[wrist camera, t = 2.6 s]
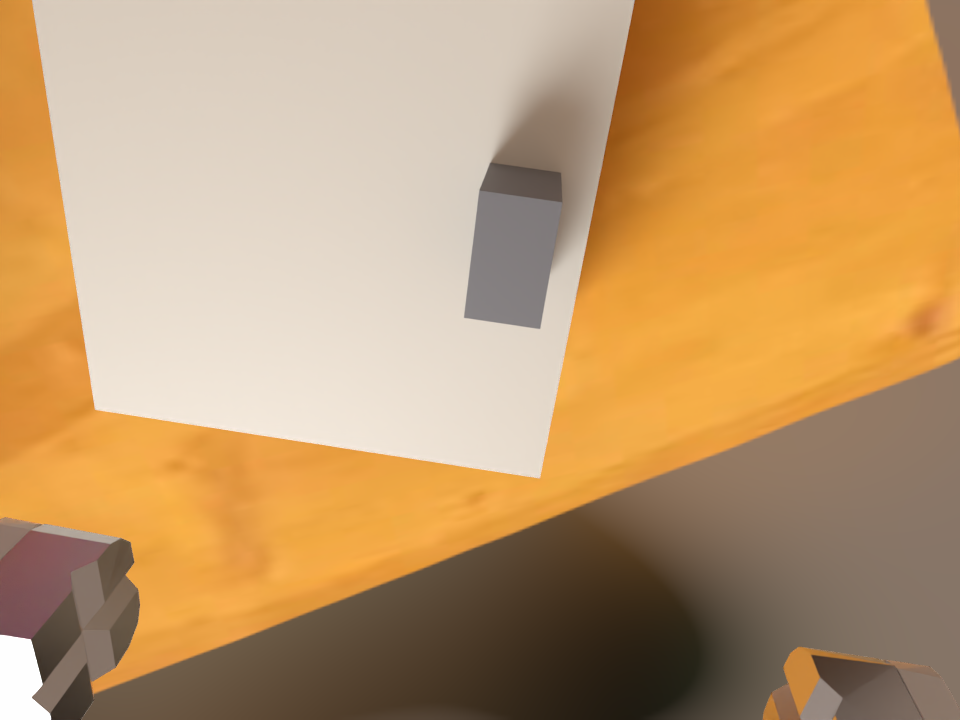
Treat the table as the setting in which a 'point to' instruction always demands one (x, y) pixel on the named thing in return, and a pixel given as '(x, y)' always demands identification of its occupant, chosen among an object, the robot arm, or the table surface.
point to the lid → (333, 211)
